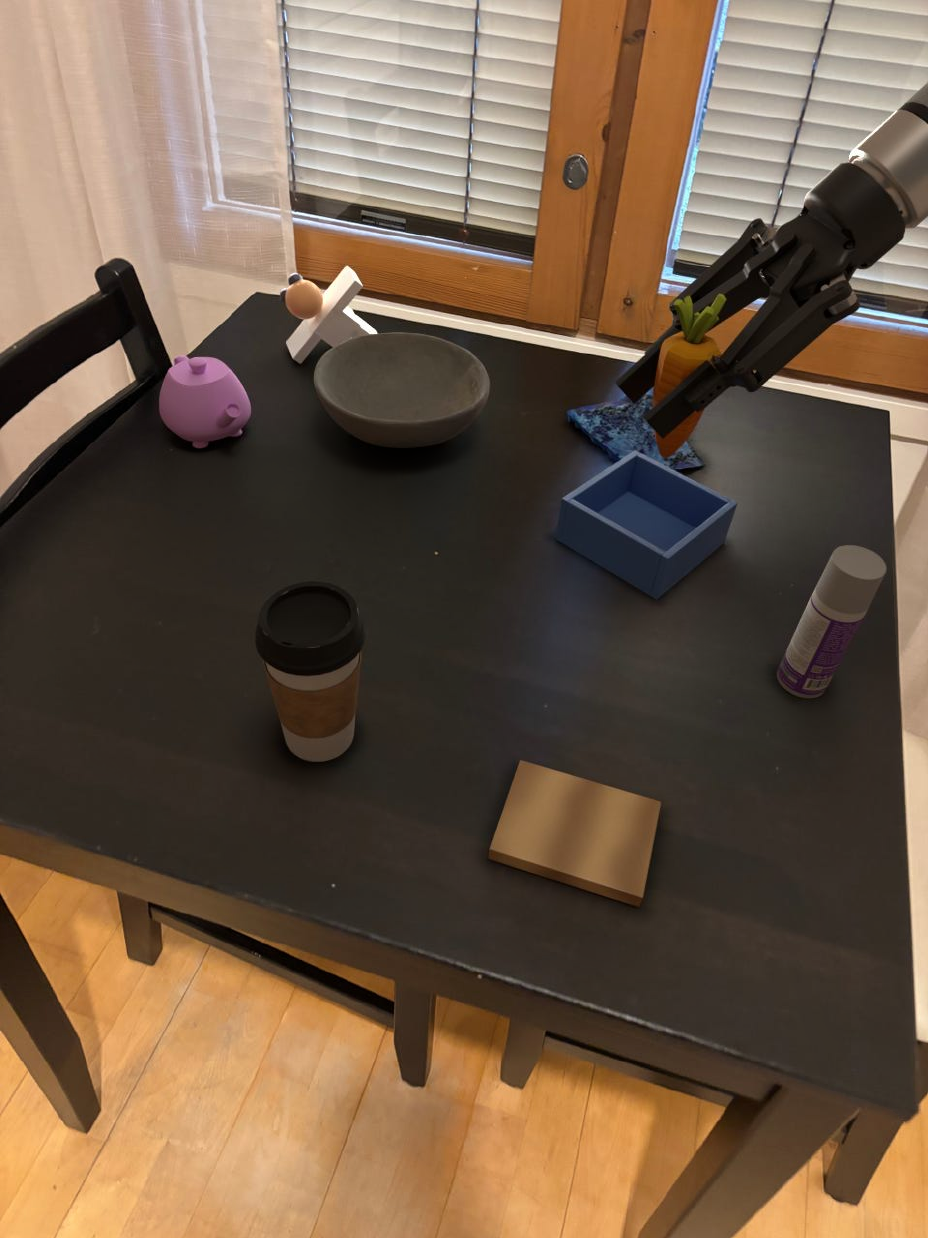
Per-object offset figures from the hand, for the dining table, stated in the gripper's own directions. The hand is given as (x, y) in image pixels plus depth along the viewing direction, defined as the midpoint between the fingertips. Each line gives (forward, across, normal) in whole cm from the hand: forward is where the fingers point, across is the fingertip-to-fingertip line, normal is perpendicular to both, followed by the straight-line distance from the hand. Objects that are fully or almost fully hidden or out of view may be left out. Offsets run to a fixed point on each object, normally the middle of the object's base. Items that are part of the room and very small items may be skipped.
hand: (638, 409), depth 74 cm
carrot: (+1, 0, -6) cm, 7 cm away
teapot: (+41, +40, +8) cm, 58 cm away
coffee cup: (+38, -9, +5) cm, 39 cm away
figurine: (+27, +58, -5) cm, 64 cm away
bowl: (+24, +36, -8) cm, 44 cm away
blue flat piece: (+4, +28, -29) cm, 40 cm away
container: (+5, -14, -27) cm, 31 cm away
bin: (+10, +9, -23) cm, 26 cm away
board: (+25, -24, -8) cm, 36 cm away
